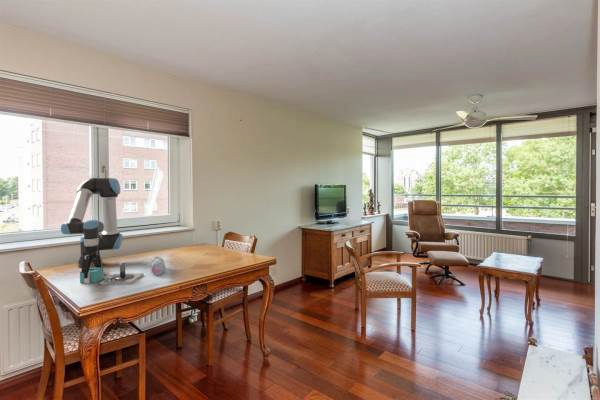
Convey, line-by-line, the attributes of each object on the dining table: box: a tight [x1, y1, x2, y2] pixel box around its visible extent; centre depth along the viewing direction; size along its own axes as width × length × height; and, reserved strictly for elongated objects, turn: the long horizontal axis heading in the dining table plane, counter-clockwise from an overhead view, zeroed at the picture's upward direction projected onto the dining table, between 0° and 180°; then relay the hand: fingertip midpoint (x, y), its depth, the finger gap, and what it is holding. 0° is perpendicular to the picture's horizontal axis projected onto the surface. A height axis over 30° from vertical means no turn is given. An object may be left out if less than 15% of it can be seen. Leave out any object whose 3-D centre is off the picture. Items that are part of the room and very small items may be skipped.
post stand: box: [99, 262, 144, 286], centre depth 193 cm, size 18×18×10 cm
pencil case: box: [150, 255, 166, 277], centre depth 211 cm, size 21×9×10 cm, turn 26°
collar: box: [79, 266, 105, 284], centre depth 191 cm, size 9×9×7 cm
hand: (92, 280), depth 191 cm, fingers open, 11 cm apart
